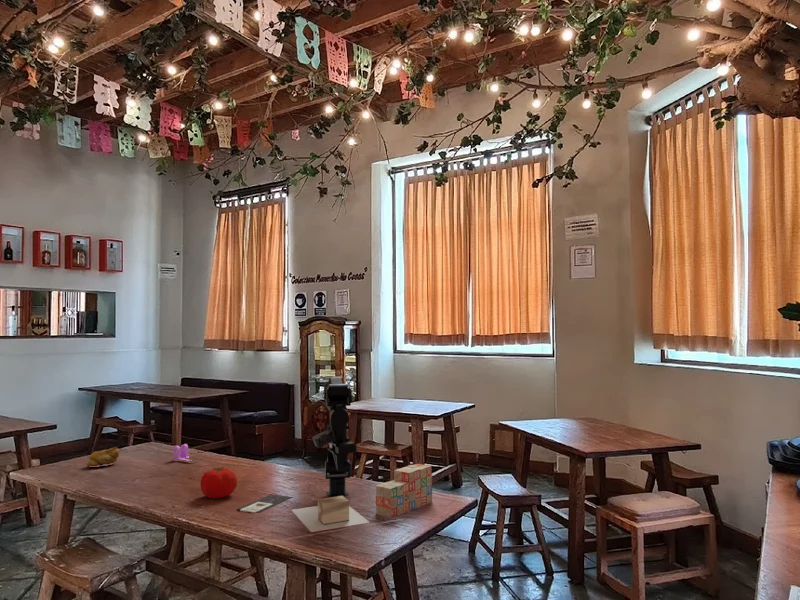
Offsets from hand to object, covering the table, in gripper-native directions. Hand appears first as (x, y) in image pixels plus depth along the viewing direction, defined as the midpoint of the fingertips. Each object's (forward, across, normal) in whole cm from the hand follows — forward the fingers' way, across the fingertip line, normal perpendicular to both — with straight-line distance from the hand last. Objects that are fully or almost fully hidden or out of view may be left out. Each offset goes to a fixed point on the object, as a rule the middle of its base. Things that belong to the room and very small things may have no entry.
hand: (339, 470), depth 188 cm
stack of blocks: (+12, +11, +19) cm, 25 cm away
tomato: (+12, -32, -34) cm, 48 cm away
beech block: (+6, +12, -6) cm, 15 cm away
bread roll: (+12, -106, -74) cm, 130 cm away
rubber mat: (+12, +8, -6) cm, 15 cm away
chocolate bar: (+13, -15, -21) cm, 29 cm away
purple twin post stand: (+12, -98, -39) cm, 106 cm away
